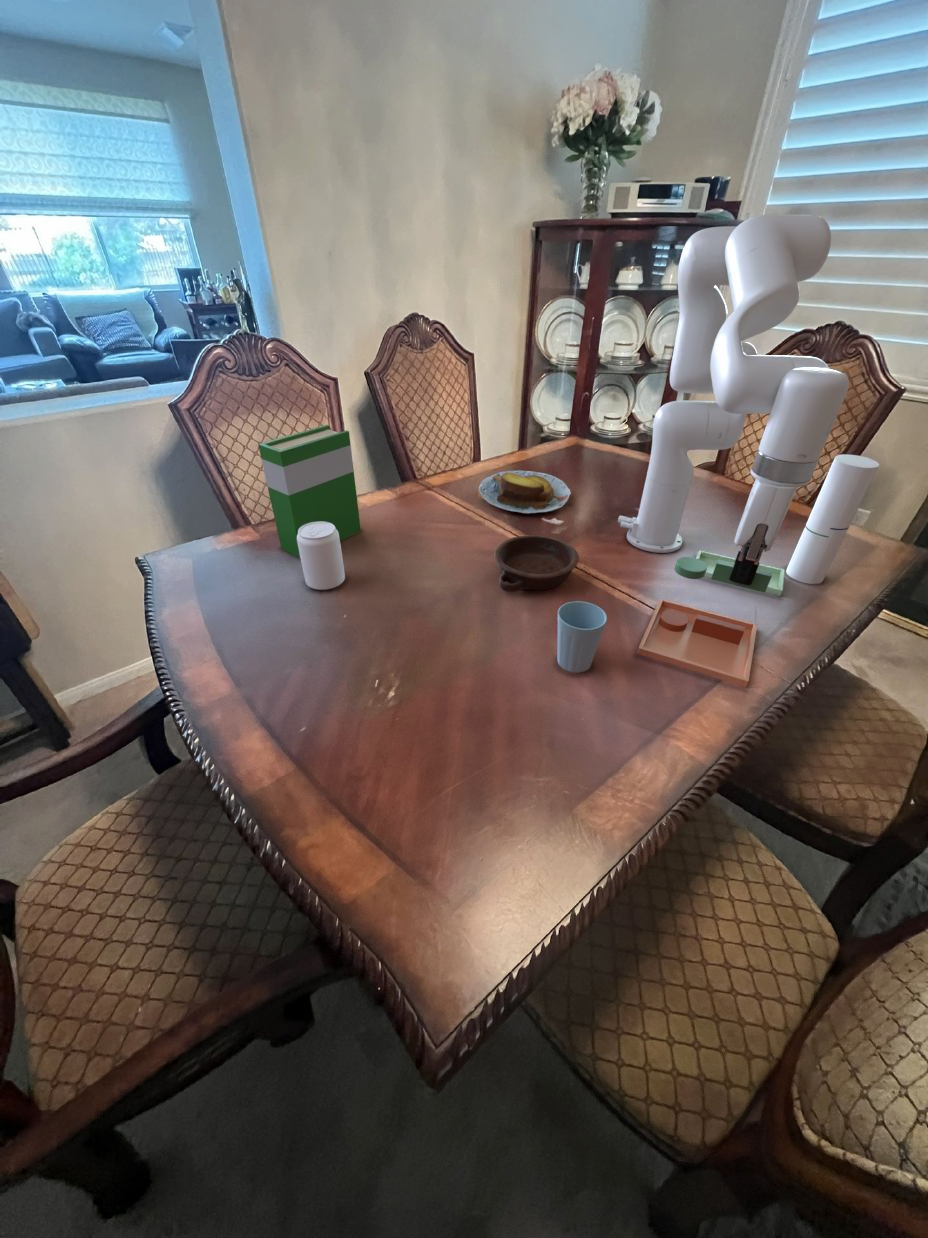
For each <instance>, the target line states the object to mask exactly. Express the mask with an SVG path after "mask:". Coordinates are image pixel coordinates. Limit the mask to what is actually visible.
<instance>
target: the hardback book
mask: <svg viewBox="0 0 928 1238" xmlns="http://www.w3.org/2000/svg"><path fill="white" fill-rule="evenodd" d="M257 446H258V450H259V454H260V459H261V464H262V468H263V473H264V478H265V482H266V486H267V491H268V496H269V499H270V504H271V508H272V513H273V516H274V517H273V519H274V522H275V526H276V531H277V535H278V539H279V544H280V549H281V550H283V551H284V552H286V553H289V554H291V555H293V556H295V557H296V558H299V559H300V560H301V558H300V553H299V548H298V543H297V535H298V530H299V528H300V527H301V526H303V525H305V524H308V523H311V522H319V521H322V522H329V523H331V524H333V525H334V526H335V528H336V530H337V531H338V533H339V538H340V542H341V541H342V540H345V539H347V538H350V537H352V536H354V535H356V534H359V533H360V532H362V528H361V520H360V513H359V511H360V510H359V503H358V494H357V486H356V478H355V469H354V462H353V453H352V445H351V436H350V431H349V430H343V431H340V432H338V431H335V430H332V429H331V425H329V424H324V425H321V426H317V427H313V428H311V429H307V430H303V431H300V432H296V433H292V434H289V435H286V436H282V437H279V438H275V439H272V440H269V441H265V442H261V443H258V444H257Z"/></svg>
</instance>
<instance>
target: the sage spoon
mask: <svg viewBox="0 0 928 1238" xmlns="http://www.w3.org/2000/svg"><path fill="white" fill-rule="evenodd" d="M734 564H735V563H732V562H728V561H724V560H720V559H718V560H717V563H716V566H715V569H714V572H713V575H712V578H711V579H712V580H711V581H714V580H716V581H715V582H718V581H720V582H719V583H723V582H724V583H723V584H727V583H728V584H727V585H731V584H732V585H731V586H735V585H736V586H735V587H739V586H740V587H739V588H743V587H744V588H743V589H747V588H748V589H747V590H751V589H752V591H755V590H756V591H755V592H759V591H760V593H763V592H764V593H763V594H766V593H765V591H766V589H767V587H768V584H769V582H770V580H771V577H772V572H770V571H766V570H762V569H757V571H756V574H755V576H754V579H753V581H752V584H751V585H744V584H740V583H736V582H732V581H730V580H729V579H730V575H731V573H732V570H733V567H734ZM706 570H707V565H706V564H705V563H704V562H703V561H701V560H699V559H696V557H691V556H682V557H679V558H678V559H677V560H676V561H675V565H674V571H675V572H676V574H677V575H678V576H681V577H683V578H686V579H690V580H699V579H703V578H702V577H704V576H705V573H706Z"/></svg>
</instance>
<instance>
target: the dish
mask: <svg viewBox="0 0 928 1238" xmlns="http://www.w3.org/2000/svg"><path fill="white" fill-rule="evenodd" d="M494 559H495V561H496V563H497V565H498V569H499V572H500V573H501V575H500V577H499V583H498V584H499V585H498V586H499V588H500V589H501V590H503V591H505V592H516V591H520V590H523V589H525V590H531V591H542V590H543V591H545V590H549V589H553V588H555V587H558V586H560V585H562V584H563V583H564V582H566V580H567V579H569V577H570V575H571V573H572V572H573V570H574V569H575V568H576V567H577V566H578V563H579V562H580V561H579V560H580V556H579V553H578V552H577V550H576V548H574V547H573V546H572V545H570V544H568V543H567V542H565V541H563V540H560V539H557V538H553V537H550V536H548V537H547V536H543V535H537V534H536V535H535V534H534V535H533V534H530V535H519V536H514V537H510V538H508V539H506V540H505V541H503V542H501V543H500V544H498V545H497V547H496V548H495V550H494Z"/></svg>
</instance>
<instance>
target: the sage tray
mask: <svg viewBox="0 0 928 1238" xmlns="http://www.w3.org/2000/svg"><path fill="white" fill-rule="evenodd" d="M695 558H696V559H699V560H701V561H703V562H704V563H705V564H706V565H707V570H706V573H705V576H704V577H702V578H701V579H706V580H711V581H713V582H714V581H715V582H718V583H721V582H720V581H716V580H712V579H711V578H712V575H713V572H714V569H715V566H716V563H717V560H718V559H720V560H724V561H728V562H732V563H735V560H736V557H732V556H726V555H722V554H718V553H713V552H709V551H705V550H700V549H698V550H697V554H696V556H695ZM758 569H762V570H766V571H770V572H772V577H771V580H770V582H769V584H768V587H767V589H766V591H765V593H764V592H762V593H763V594H768V595H772V596H777V597H781V596H782V594H783V592H784V591H783V590H784V581H785V572H786V570H785V569H784V568H781V567H775V566H771V565H768V564H767V565H766V564H762V563H759V566H758ZM722 583H723V584H725V583H724V582H722ZM726 584H727V585H729V584H728V583H726ZM730 585H731V586H733V585H732V584H730ZM734 586H735V587H737V586H736V585H734ZM738 587H739V588H741V587H740V586H738ZM742 588H743V589H745V588H744V587H742ZM746 589H747V590H749V589H748V588H746ZM750 590H752V589H750ZM752 591H753V590H752ZM754 591H755V592H757V591H756V590H754ZM758 592H760V591H758ZM760 593H761V592H760Z"/></svg>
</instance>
